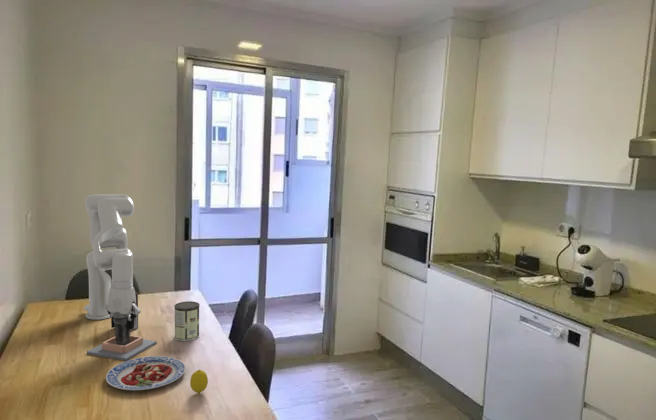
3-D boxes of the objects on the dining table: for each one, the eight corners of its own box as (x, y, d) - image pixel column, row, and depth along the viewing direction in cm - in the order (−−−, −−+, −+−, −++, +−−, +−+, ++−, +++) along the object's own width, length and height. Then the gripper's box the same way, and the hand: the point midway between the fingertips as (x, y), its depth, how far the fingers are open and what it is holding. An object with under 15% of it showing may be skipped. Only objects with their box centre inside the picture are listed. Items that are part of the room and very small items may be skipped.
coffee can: (184, 330, 206) (184, 300, 204) (203, 334, 202) (204, 303, 201) (168, 338, 196) (169, 306, 195) (189, 342, 193) (189, 309, 191)
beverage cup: (136, 341, 188) (135, 293, 186) (126, 348, 180) (126, 298, 178) (119, 340, 188) (118, 291, 186) (108, 347, 181) (108, 297, 179)
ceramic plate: (127, 360, 175) (127, 352, 175) (195, 363, 174) (195, 355, 174) (90, 393, 149) (90, 384, 149) (169, 397, 148) (169, 389, 148)
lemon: (192, 389, 154) (192, 366, 153) (209, 389, 155) (209, 366, 154) (188, 397, 149) (188, 373, 148) (206, 397, 149) (206, 373, 148)
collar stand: (86, 353, 178) (86, 345, 178) (119, 337, 195) (119, 329, 195) (126, 360, 173) (126, 351, 173) (156, 343, 191) (156, 335, 190)
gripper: (97, 283, 181) (97, 328, 182) (134, 289, 176) (134, 334, 178) (110, 279, 188) (111, 322, 190) (147, 284, 183) (147, 327, 185)
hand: (122, 327), depth 184 cm, fingers closed on beverage cup, 6 cm apart
